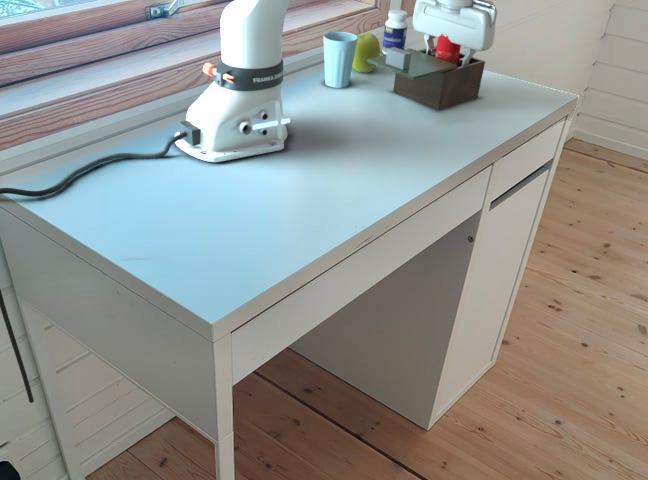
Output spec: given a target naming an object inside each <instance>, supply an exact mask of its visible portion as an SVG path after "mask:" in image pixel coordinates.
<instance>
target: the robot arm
mask: <svg viewBox="0 0 648 480" xmlns="http://www.w3.org/2000/svg"><path fill="white" fill-rule="evenodd" d="M290 2H292V1H291V0H233V1H231V2H229V4H227V6H226V7H224V9H223V11H222V13H221V16H220V49H221V50H220V52H221V53H220V55H221V57H220V58H219V60H218V63H217V66H216V65H215V64H212V63H211V62H205V63H204V64H203V66H202V72H203V73H204V74H205V75H208V76H209V77H213V82H212V83H211V84H210V85H209V87H207V88H206V90H204V92H203V93H202V94H200V96H199V97H198V98H197V99H196V100H195V101H194V102H193V103H192V104H191V105H190V106H189V108H188V109H187V113H186V117H185V118H186V119H185V120H183V121H179V122H178V130H179V131H178V132H176V133H175V134H174V136H173V137H172V138H170V139H169V140H168V141H166V144H165V145H164V148H163V149H162V150H160V151H158V152H156V153H149V154H144V153H135V152H116V153H112V154H108V155H104V156H101V157H99V158H96V159H94V160H91V161H90V162H87V163H85V164H83V165H81V166H80V167H78V168H75V169H74V170H72V171H71V172H69V173H68V174H67V175H65V176H64V178H62V179H61V180H60V181H59V182H58V183H56V184H55V185H53V186H50V187H48V188H46V189H45V188H44V189H42V190H41V189H40V190H26V189H21V188H13V187H0V195H2V194H11V195H17V196H18V195H19V196H24V197H34V198H38V197H45V196H47V195H48V196H49V195H51V194H54V193H55V192H58V191H59V190H61V189H62V188H64V187H65V186H66V185H67V184H68V183H69V182H70V181H72V180H73V179H74V178H76V177H77V176H78V175H80V174H83V173H84V172H86V171H88V170H90V169H92V168H93V167H96V166H98V165H100V164H102V163H105V162H106V163H107V162H109V161H112V160H116V159H141V160H142V159H143V160H144V159H147V160H148V159H160V158H161V157H164V156H166V155H167V154H168V153H169V151H170V149H171V147H172V145H174V144H175V145H176V146H177V147H178V148H179V149H180V150H181V151H183V152H185V154H188V155H190V156H191V157H193V158H196V159H198V160H202V161H204V162H209V163H221V162H227V161H232V160H236V159H242V158H246V157H251V156H257V155H263V154H268V153H272V152H278V151H282V150H284V149H285V141H286V139H287V138H288V134H289V133H288V130H287V126H286V124H289V123H291V118H288V117H287V118H285V117H284V116H285V115H284V108H283V98H282V97H283V96H282V95H283V94H282V82H283V81H284V60H283V58H282V48H283V47H282V46H283V33H284V24H285V18H286V14H287V10H288V8H289V5H290ZM497 17H498V9H497V6H495V5H494V2H493V1H490V0H416V1H415V5H414V9H413V15H412V27H413V30H414V31H416V32H420V33H422V34H424V35H423V40H424V43H425V47H426V48H427V50H426V54H427V55H430V56H433V57H434V56H435V53H436V48H435V43H434V39H435V38H437V39H438V37H439V36H441V34H442V35H445V36H449V37H448V38H449V40H450V41H451V42H452V43H455V44H458V45H461V47H465V48H464V53H465V56H464V58H461V59H459V64H458V67H461V66H465V65H468V64H469V60H470V59H471V58H472V57H474V55H475V54H476V53H477V52H485V51H488V50H489V49H490V48H491V47H493V45H494V40H495V34H496V21H497ZM0 311H1V315H2V318H3V321H4V325H5V327H6V330H7V333H8V336H9V340H10V343H11V346H12V349H13V352H14V355H15V358H16V362H17V364H18V369H19V371H20V374H21V378H22V381H23V384H24V387H25V391H26V394H27V398H28V402H29V403H30V404H32V403H34V402H35V400H34V395H33V392H32V389H31V385H30V382H29V377H28V374H27V372H26V368H25V365H24V362H23V358H22V355H21V352H20V349H19V346H18V343H17V340H16V337H15V334H14V330H13V327H12V324H11V321H10V317H9V314H8V310H7V307H6V303H5V300H4V296H3V293H2V289H1V288H0Z"/></svg>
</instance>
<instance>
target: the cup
mask: <svg viewBox="0 0 648 480" xmlns="http://www.w3.org/2000/svg"><path fill="white" fill-rule="evenodd" d="M357 36H358V35H356V34H354V33H352V32H347V31H329V32H326V33H324V34H323V57H324V58H323V59H324V60H323V61H324V62H323V63H324V81H325V82H324V83H325V85H326V86H328V87H330V88H334V89H342V88H347V87H349V84H350V79H351V76H352V75H351V74H352V71H353V70H352V69H353V67H352V65H353V60H354V55H355V50H356V45H357V40H358V37H357Z"/></svg>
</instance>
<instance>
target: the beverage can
mask: <svg viewBox="0 0 648 480" xmlns="http://www.w3.org/2000/svg"><path fill="white" fill-rule="evenodd" d="M448 37H449V36H445V35H442V34H441V36H439V37H438V38H437V42H436V46H437V47H436V53H435V57H436V58H439V59H441V60H444V61H447V62H450V63H453V64H456V65H457V63H458V58H459V53H461V47H462V46H461V45H458V44H455V43H452V42H451V41H450V40H449V38H448Z"/></svg>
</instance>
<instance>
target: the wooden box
mask: <svg viewBox="0 0 648 480" xmlns="http://www.w3.org/2000/svg"><path fill="white" fill-rule="evenodd" d="M434 47H435V48H436V47H437V45H436V46H435V45H434ZM426 50H427V47H426V48H422V49H419V50H417V51H419V52H422V53H425V54H426ZM465 55H466V53H461V52H460V53H459V58H458V63H457V68H454V69H451V70H447V71H444V72H440V73H436V74H433V75H429V76H426V77H422V78H418V79H415V80H412V79H410V78H407V77H405V76H402V75H399V74H397V73H395V76H394V82H393V90H392V92H393V93H394V94H397V95H400V96H402V97H405V98H407V99H409V100H412V101H414V102H416V103H419V104H422V105H424V106H427V107H429V108H431V109H434V110H436V111H441V110H443V109H447V108H451V107H453V106H456V105H460V104H463V103H466V102H469V101H472V100H475V99H478V97H479V93H480V87H481V83H482V78H483V74H484V69H485V64H486V61H485V60H482V59H479V58H477V57H474V56H472V58H471V59H470V60H469V64H468V65H465V66H461V67H458V64H459V59H461V58H464V56H465ZM434 57H435V56H434Z"/></svg>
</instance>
